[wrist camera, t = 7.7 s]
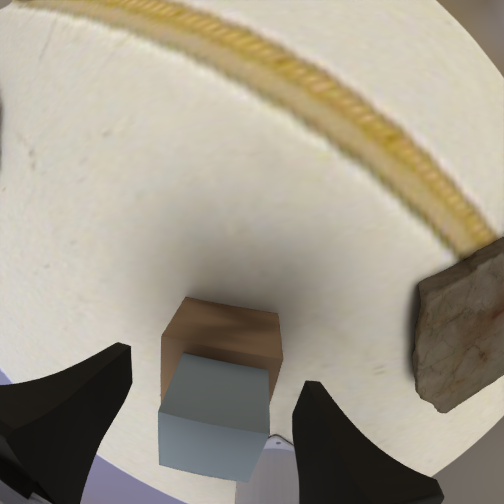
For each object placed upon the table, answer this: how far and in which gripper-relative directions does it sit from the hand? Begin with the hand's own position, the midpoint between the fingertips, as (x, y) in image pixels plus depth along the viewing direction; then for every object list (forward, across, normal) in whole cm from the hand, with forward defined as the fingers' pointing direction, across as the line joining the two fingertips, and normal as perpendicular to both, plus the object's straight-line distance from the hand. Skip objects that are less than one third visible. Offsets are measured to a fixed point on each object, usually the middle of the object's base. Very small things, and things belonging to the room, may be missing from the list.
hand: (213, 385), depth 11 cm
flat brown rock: (+11, -23, 0) cm, 25 cm away
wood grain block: (+11, 0, +5) cm, 12 cm away
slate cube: (+5, 0, +5) cm, 7 cm away
